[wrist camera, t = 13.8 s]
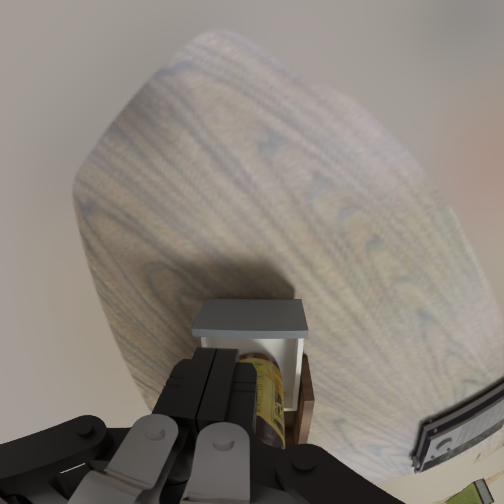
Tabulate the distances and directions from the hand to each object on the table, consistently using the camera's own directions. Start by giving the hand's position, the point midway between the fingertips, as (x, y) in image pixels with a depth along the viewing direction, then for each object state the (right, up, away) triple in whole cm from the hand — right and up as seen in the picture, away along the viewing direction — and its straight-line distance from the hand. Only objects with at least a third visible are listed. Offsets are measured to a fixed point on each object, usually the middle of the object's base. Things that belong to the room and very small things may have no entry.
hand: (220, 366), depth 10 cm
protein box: (+86, -91, +40) cm, 131 cm away
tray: (+1, -7, +21) cm, 22 cm away
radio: (+46, -32, +27) cm, 62 cm away
